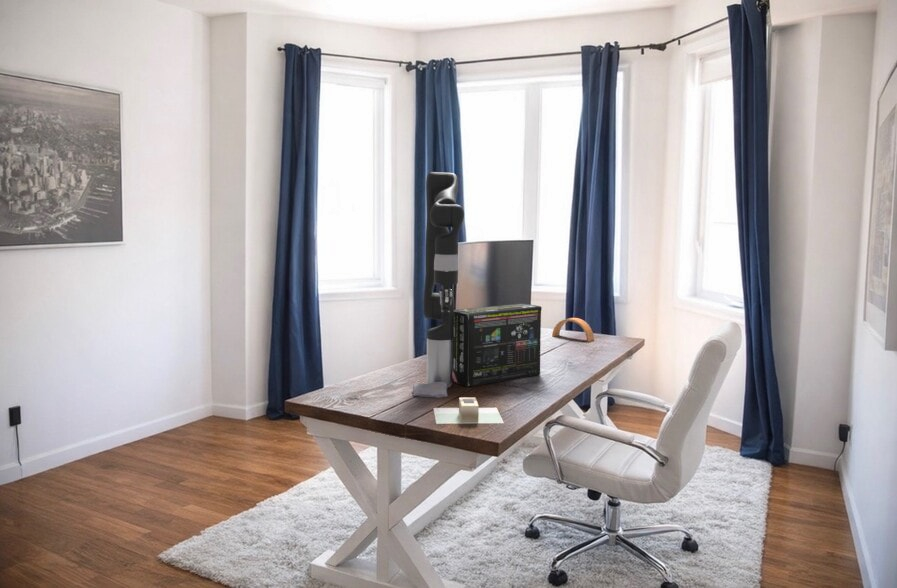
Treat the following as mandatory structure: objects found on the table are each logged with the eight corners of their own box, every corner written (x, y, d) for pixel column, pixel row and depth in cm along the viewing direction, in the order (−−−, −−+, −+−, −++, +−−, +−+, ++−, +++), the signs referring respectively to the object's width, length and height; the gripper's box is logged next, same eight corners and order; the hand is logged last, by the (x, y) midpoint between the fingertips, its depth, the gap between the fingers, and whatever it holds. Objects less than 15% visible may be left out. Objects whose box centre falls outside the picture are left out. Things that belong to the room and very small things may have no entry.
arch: (588, 342, 340) (589, 321, 338) (552, 336, 352) (552, 316, 351) (594, 340, 344) (594, 320, 343) (558, 335, 357) (558, 315, 355)
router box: (522, 369, 281) (524, 302, 278) (541, 375, 272) (544, 306, 269) (448, 381, 261) (449, 309, 257) (466, 388, 252) (467, 313, 248)
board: (433, 409, 224) (433, 407, 224) (496, 409, 226) (496, 407, 226) (436, 425, 209) (436, 423, 209) (504, 425, 210) (504, 423, 210)
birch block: (459, 397, 218) (461, 405, 209) (475, 397, 219) (478, 405, 210) (458, 413, 219) (461, 422, 210) (475, 413, 219) (478, 422, 210)
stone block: (448, 404, 237) (447, 391, 247) (448, 391, 236) (446, 378, 245) (412, 406, 237) (412, 392, 246) (412, 393, 235) (412, 379, 245)
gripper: (432, 266, 229) (432, 319, 231) (435, 270, 216) (434, 327, 218) (456, 266, 229) (455, 320, 232) (459, 270, 216) (458, 327, 218)
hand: (445, 323), depth 225 cm, fingers closed
